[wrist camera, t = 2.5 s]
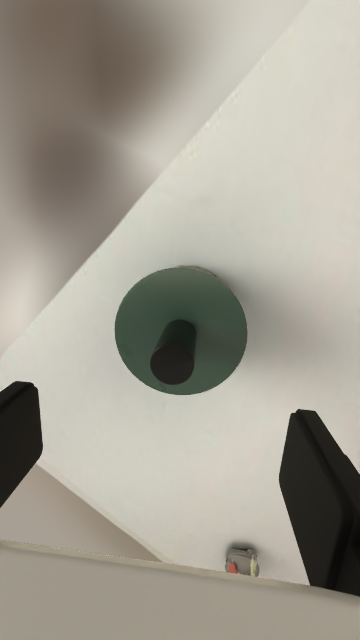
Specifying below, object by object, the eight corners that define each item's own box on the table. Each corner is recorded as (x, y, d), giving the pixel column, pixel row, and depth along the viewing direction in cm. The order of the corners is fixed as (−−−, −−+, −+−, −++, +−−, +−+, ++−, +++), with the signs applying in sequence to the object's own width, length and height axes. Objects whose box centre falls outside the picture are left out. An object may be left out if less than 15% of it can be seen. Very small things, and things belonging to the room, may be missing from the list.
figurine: (239, 570, 40) (245, 625, 35) (215, 554, 40) (217, 606, 34) (264, 551, 39) (275, 604, 33) (241, 534, 39) (247, 585, 33)
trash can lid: (118, 382, 24) (88, 432, 18) (118, 262, 21) (82, 269, 15) (237, 394, 23) (250, 449, 17) (253, 271, 21) (275, 282, 14)
